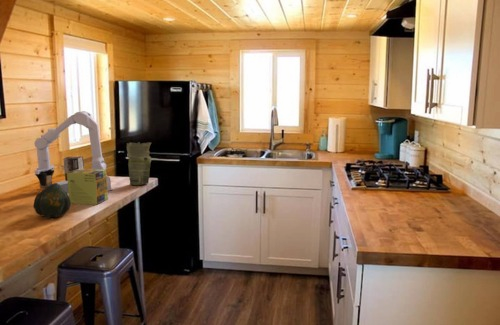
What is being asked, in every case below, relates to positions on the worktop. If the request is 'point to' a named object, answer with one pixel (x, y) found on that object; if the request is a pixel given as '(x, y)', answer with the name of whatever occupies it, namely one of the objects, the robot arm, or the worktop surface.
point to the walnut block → (47, 182)
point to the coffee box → (72, 164)
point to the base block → (63, 185)
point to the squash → (52, 201)
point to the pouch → (139, 163)
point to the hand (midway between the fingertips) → (46, 184)
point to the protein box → (87, 186)
